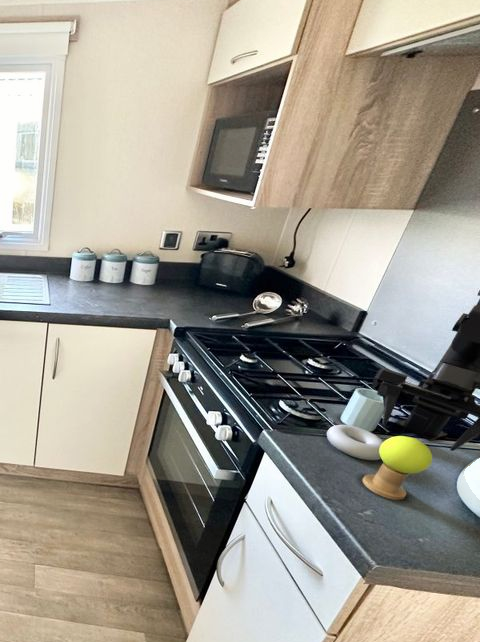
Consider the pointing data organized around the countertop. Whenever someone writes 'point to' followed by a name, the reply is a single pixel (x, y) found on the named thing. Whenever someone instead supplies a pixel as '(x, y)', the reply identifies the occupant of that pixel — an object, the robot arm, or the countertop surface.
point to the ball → (405, 454)
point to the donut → (355, 441)
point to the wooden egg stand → (386, 483)
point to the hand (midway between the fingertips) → (416, 436)
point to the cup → (364, 409)
